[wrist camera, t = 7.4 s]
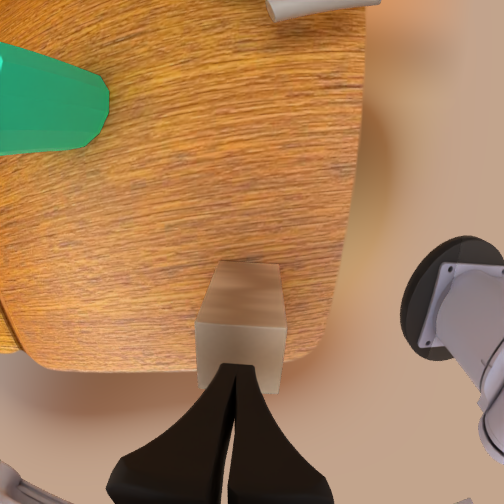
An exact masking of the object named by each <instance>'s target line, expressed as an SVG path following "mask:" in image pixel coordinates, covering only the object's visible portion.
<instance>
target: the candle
mask: <svg viewBox="0 0 504 504" xmlns="http://www.w3.org/2000/svg"><path fill="white" fill-rule="evenodd" d="M108 114H109V90H108V88H107V87H106V85H105V83H104V81H103V80H102V78H101V76H99V75H97V74H94V73H91V72H89V71H86V70H84V69H81V68H79V67H76V66H73V65H70V64H68V63H65V62H62V61H59V60H57V59H54V58H51V57H48V56H45V55H42V54H39V53H36V52H33V51H30V50H26V49H23V48H20V47H17V46H13V45H10V44H6V43H3V42H0V156H4V155H13V154H22V153H33V152H46V151H61V150H71V149H76V148H81V147H85V146H86V145H87V144H88V143H89V142H90V141H91V140H93V139H94V138H95V137H96V136H97V135H98V134H99V133H100V131H101V129H102V127H103V125H104V122H105V120H106V118H107V116H108Z"/></svg>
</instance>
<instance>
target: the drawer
mask: <svg viewBox="0 0 504 504" xmlns="http://www.w3.org/2000/svg"><path fill="white" fill-rule="evenodd" d="M380 3H381V0H266V7H267V10H268V13H269V15H270V17H271V19H272V21H273V22H274V23H276V22H280V21H284V20H288V19H292V18H297V17H301V16H306V15H311V14H316V13H321V12H327V11H333V10H339V9H346V8H354V7H362V6H371V5H379V4H380Z"/></svg>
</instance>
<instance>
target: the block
mask: <svg viewBox="0 0 504 504" xmlns="http://www.w3.org/2000/svg"><path fill="white" fill-rule="evenodd" d="M286 337H287V321H286V313H285V305H284V297H283V290H282V282H281V275H280V268H279V264H267V263H251V262H235V261H219V262H218V264H217V267H216V269H215V272H214V274H213V277H212V279H211V282H210V284H209V287H208V289H207V292H206V294H205V297H204V300H203V302H202V305H201V307H200V310H199V312H198V315H197V318H196V320H195V343H196V362H197V378H198V388H201V389H206V388H207V387H208V385H209V384H210V382H211V381H212V379H213V378H214V376H215V374H216V372H217V370H218V369H219V366H220V364H222V363H233V364H247V365H253V366H254V367H255V372H256V377H257V381H258V384H259V387H260V390H261V393H264V394H278V393H279V387H280V380H281V374H282V366H283V359H284V352H285V344H286Z"/></svg>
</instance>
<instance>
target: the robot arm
mask: <svg viewBox="0 0 504 504" xmlns="http://www.w3.org/2000/svg"><path fill="white" fill-rule="evenodd" d="M450 266H451V268H450V270H448V268H449V267H450ZM502 270H503V271H502ZM427 341H428V342H427ZM426 342H427V343H426ZM417 344H418V346H419V347H420V348H427V347H439V346H445V347H446V348H447V349H448V350H449V352H450V353H451V354H452V356H453V357H454V358H455V359H456V361H457V362H458V363H459V365H460V366H461V367H462V368H463V370H464V371H465V372H466V374H467V375H468V376H469V378H470V379H471V380H472V382H473V383H474V384H475V386H476V387H477V389H478V390H479V391H480V393H481V397H480V399H479V401H478V403H477V404H478V405H479V407H480V408H481V410H482V411H483V415H482V417H481V418H480V421H479V426H478V430H479V436H480V440H481V442H482V444H483V446H484V448H485V450H486V451H487V453H488V454H489V455H490V456H491V457H492V458H493V459H494V460H496V461H497V462H499V463H501V464H503V465H504V266H503V265H487V264H472V263H456V262H443V263H441V265H440V267H439V270H438V275H437V279H436V283H435V286H434V290H433V294H432V297H431V301H430V304H429V308H428V311H427V315H426V318H425V321H424V324H423V327H422V330H421V333H420V336H419V339H418V343H417ZM234 418H235V435H234V443H233V451H232V459H231V466H230V473H229V480H228V504H334V499H333V495H332V492H331V489H330V487H329V485H328V482H327V480H326V478H325V477H324V476H323V475H322V474H321V473H319V472H318V471H317V470H316V469H315V468H314V467H312V466H311V465H310V464H309V463H308V462H307V461H306V460H305V459H304V458H303V457H302V456H301V455H300V454H299V452H298V451H297V450H296V449H295V448H294V447H293V445H292V444H291V443H290V442H289V441H288V439H287V438H286V437H285V436H284V434H283V432H282V431H281V429H280V428H279V427H278V425H277V423H276V422H275V420H274V418H273V416H272V414H271V413H270V411H269V409H268V407H267V405H266V402H265V400H264V398H263V395H262V393H261V390H260V387H259V384H258V381H257V377H256V372H255V367H254V366H253V365H247V364H233V363H222V364H220V366H219V369H218V370H217V372H216V374H215V376H214V378H213V379H212V381H211V382H210V384H209V385H208V387H207V388H206V390H205V391H204V392H203V394H202V395H201V396H200V398H199V399H198V400H197V401H196V402H195V403H194V405H193V406H192V407H191V408H190V409H189V410H188V411H187V412H186V414H184V415H183V416H182V418H180V419H179V420H178V421H177V422H176V423H175V424H174V425H172V426H171V427H170V428H169V429H168V430H166V431H165V432H164V433H163V434H161V435H160V436H158V437H157V438H155V439H154V440H152V441H151V442H149V443H148V444H146V445H145V446H143V447H141V448H139V449H138V450H135V451H134V452H131V453H129V454H127V455H125V456H123V457H121V458H120V460H119V461H118V463H117V464H116V466H115V468H114V469H113V471H112V473H111V475H110V478H109V481H108V483H107V486H106V491H107V493H108V495H109V496H110V498H111V499H112V500H113V502H114V503H115V504H221V493H222V484H223V474H224V466H225V460H226V455H227V451H228V446H229V441H230V437H231V432H232V428H233V423H234ZM0 504H73V503H70V502H68V501H66V500H63V499H61V498H59V497H57V496H55V495H53V494H50V493H48V492H46V491H44V490H42V489H40V488H38V487H36V486H35V485H32V484H30V483H29V482H27V481H25V480H23V479H22V478H21V477H20V475H19V474H18V473H17V472H16V471H15V470H14V469H13V468H12V467H11V466H9V465H8V464H6V463H4V462H3V461H1V460H0ZM455 504H473V502H472V500H471V498H467V499H465V500H462V501H460V502H457V503H455Z"/></svg>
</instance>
